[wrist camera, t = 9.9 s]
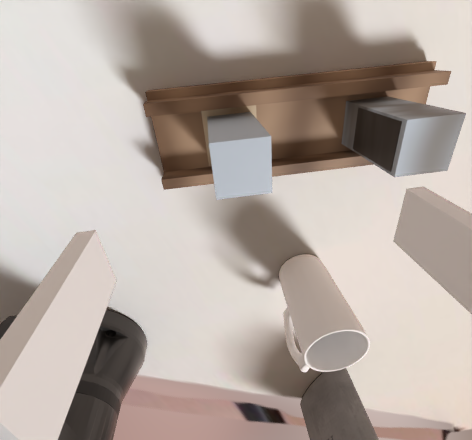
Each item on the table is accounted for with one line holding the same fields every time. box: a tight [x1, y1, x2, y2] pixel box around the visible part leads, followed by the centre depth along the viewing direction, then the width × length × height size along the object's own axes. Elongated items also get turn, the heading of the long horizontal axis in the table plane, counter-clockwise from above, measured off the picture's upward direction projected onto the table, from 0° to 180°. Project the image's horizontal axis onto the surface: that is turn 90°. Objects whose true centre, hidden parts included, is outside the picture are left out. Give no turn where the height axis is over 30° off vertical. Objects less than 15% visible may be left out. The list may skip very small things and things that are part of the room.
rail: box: [143, 61, 466, 190], centre depth 23 cm, size 26×9×10 cm, turn 95°
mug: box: [279, 254, 370, 372], centre depth 33 cm, size 10×7×12 cm, turn 153°
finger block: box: [207, 112, 272, 200], centre depth 22 cm, size 4×4×9 cm
